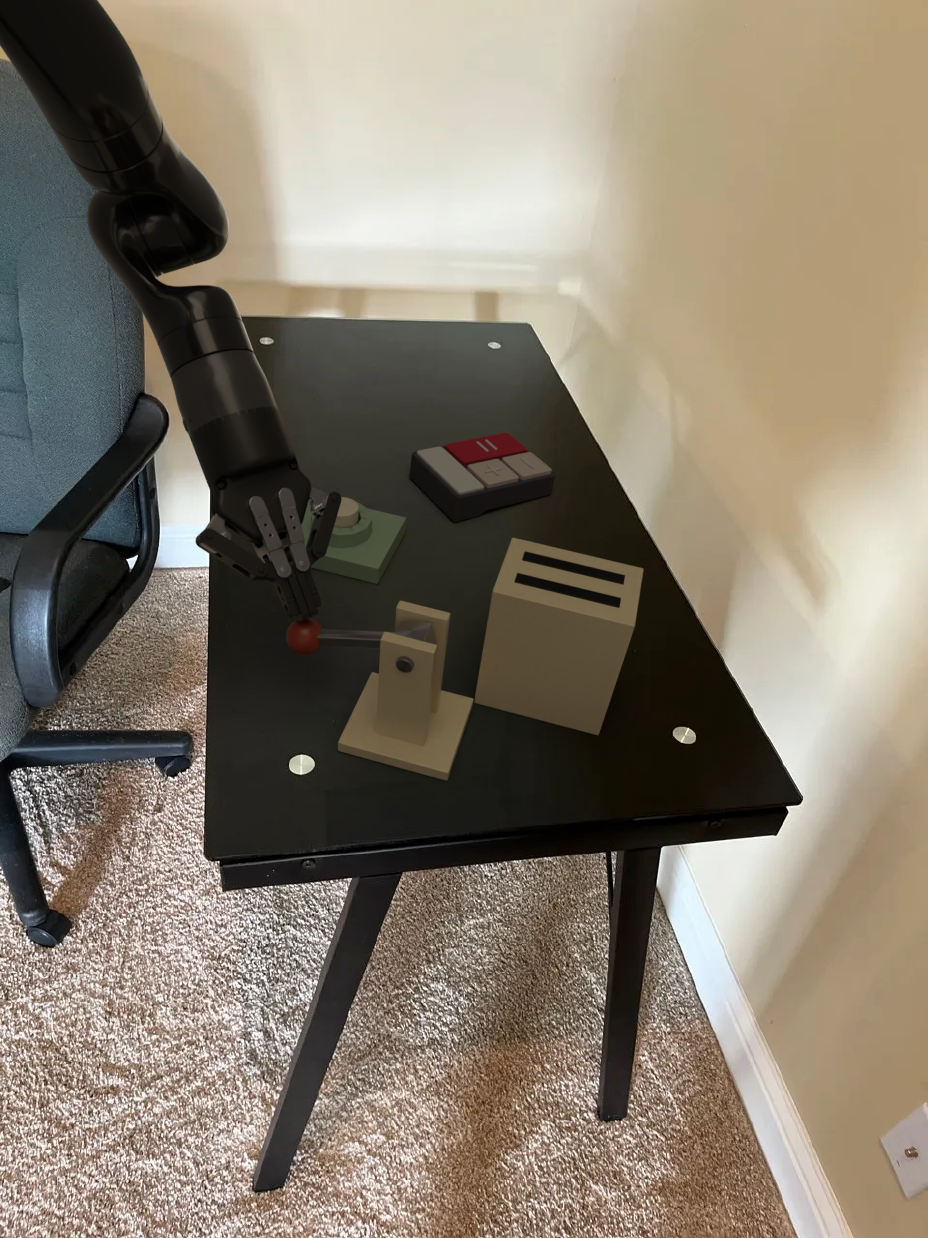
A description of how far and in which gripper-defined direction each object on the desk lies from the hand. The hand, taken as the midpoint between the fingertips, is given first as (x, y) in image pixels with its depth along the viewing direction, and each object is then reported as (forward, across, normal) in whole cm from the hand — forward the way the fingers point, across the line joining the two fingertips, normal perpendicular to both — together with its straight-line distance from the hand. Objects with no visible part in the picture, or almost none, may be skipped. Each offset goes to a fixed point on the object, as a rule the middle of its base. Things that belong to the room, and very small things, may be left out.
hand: (308, 618), depth 69 cm
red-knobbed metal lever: (+4, +3, -1) cm, 5 cm away
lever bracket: (+12, +6, +2) cm, 14 cm away
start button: (-9, +14, +18) cm, 25 cm away
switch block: (-6, +14, +21) cm, 26 cm away
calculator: (-8, +35, +23) cm, 43 cm away
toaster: (+14, +20, 0) cm, 24 cm away
